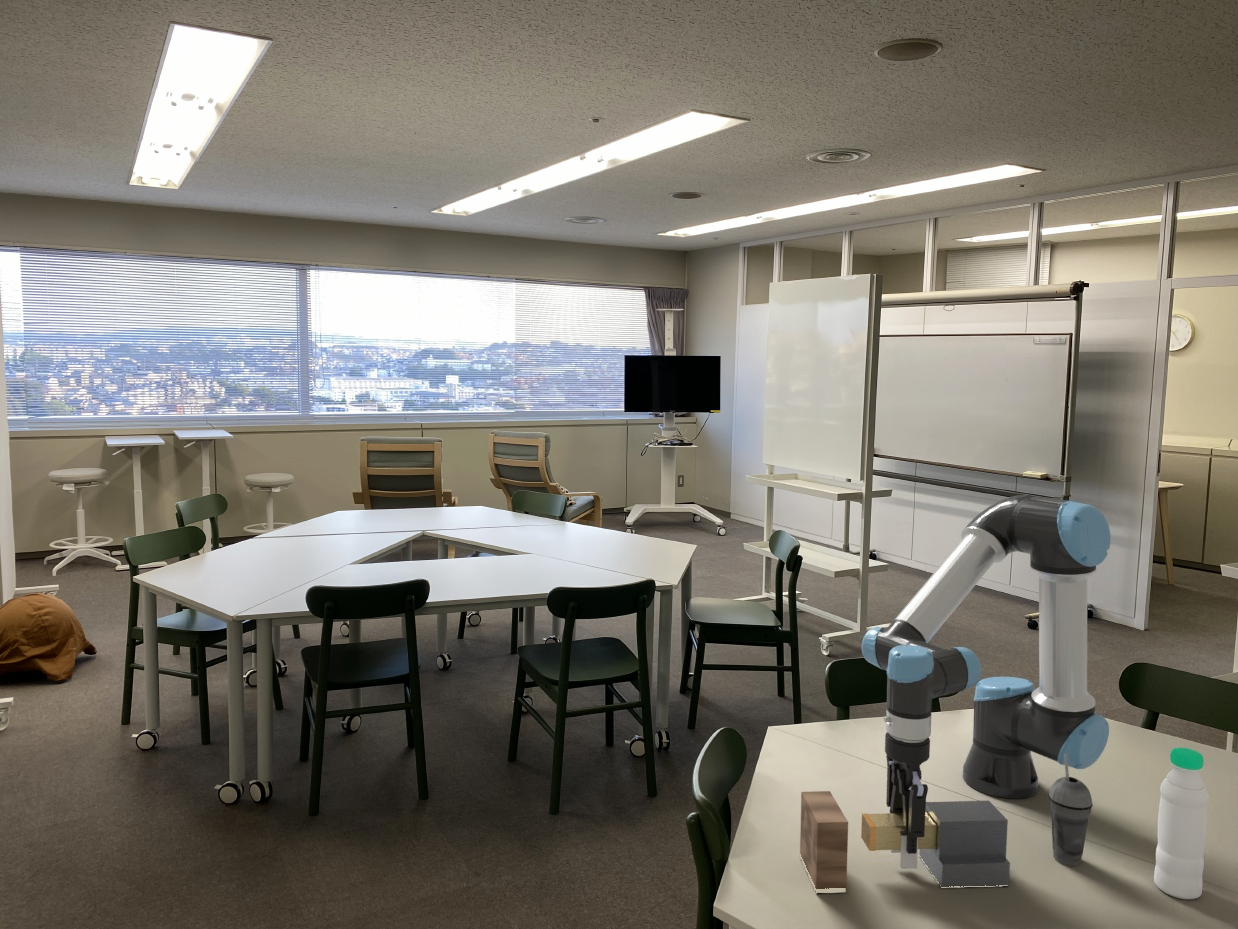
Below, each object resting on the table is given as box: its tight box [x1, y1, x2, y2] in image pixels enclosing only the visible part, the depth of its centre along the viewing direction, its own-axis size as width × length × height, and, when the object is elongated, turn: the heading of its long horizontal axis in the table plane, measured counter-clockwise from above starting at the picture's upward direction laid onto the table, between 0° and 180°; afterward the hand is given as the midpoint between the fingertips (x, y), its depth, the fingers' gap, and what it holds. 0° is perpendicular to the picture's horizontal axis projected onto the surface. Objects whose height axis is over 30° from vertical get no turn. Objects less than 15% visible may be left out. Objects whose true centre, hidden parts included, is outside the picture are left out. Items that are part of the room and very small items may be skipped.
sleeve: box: [918, 800, 1011, 888], centre depth 156 cm, size 10×12×12 cm
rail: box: [860, 812, 938, 852], centre depth 155 cm, size 4×22×4 cm, turn 93°
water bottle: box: [1153, 747, 1210, 900], centre depth 150 cm, size 7×7×25 cm
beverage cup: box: [1048, 754, 1094, 867], centre depth 159 cm, size 7×7×20 cm
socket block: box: [799, 790, 849, 889], centre depth 155 cm, size 11×5×13 cm, turn 3°
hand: (903, 859), depth 156 cm, fingers closed on rail, 4 cm apart
